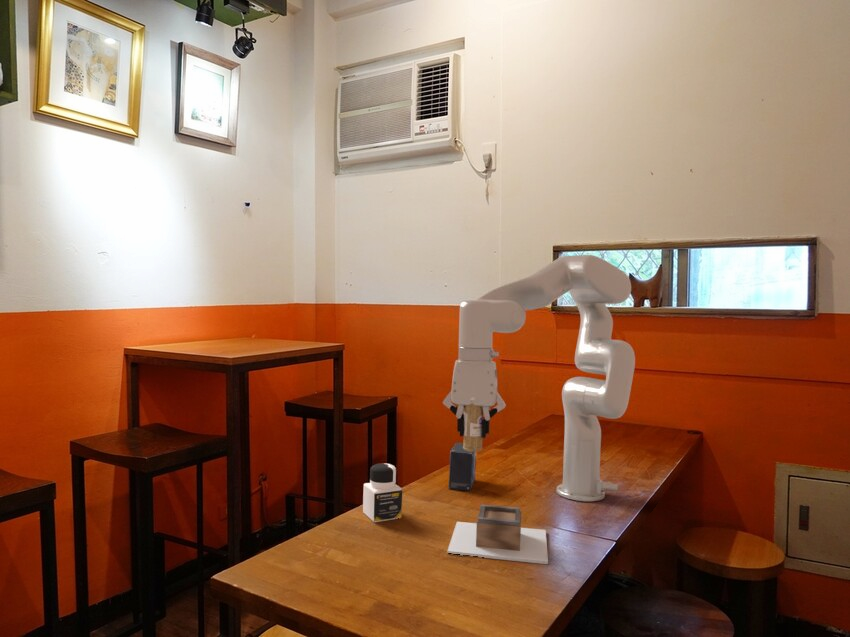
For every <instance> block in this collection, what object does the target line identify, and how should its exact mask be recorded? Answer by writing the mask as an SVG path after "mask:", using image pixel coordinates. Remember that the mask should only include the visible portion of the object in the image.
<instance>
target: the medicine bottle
mask: <svg viewBox="0 0 850 637" xmlns="http://www.w3.org/2000/svg"><path fill="white" fill-rule="evenodd" d="M369 471H370V472H369V482H365V483H363V491H362V492H363V495H362V512H363V513H364V515H366V517H368V518H369V519H370V520H371V521H372V523H379V522H385V521H391V520H397V519H398V518H399V519H401V518H402V515H403V512H402V510H403V488H402V487H400V486H399V485H397V484H396V482H397V480H396V477H397V476H396V475H397V468H396V467H395V465H393V464H391V463H381V462H380V463H376V464H374V465H372V466H371V467H370V470H369Z"/></svg>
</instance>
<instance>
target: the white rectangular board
mask: <svg viewBox="0 0 850 637" xmlns="http://www.w3.org/2000/svg"><path fill="white" fill-rule="evenodd" d="M476 529H477V522H466V521H465V522H464V521H456V524H455V526H454V530H453V533H452V536H451V538H450V542H449V544H448V547H447V548H448V549H447V551H446V554H447V553H453V554H460V555H459V556H463V555H470V556H469V557H473V556H478V557H477V558H482V557H484V559H493V560H502V561H514V562H521V563H522V562H523V563H530V564H531V563H532V564H541V565H548V564H549V558H548V557H549V556H548V546H547V544H548V542H547V531H546V530H547V529H542V528H541V529H540V528H528V527H521V536H520V551H515V550H505V549H495V548H485V547H476ZM453 554H452V555H453Z"/></svg>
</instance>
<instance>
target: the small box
mask: <svg viewBox="0 0 850 637" xmlns="http://www.w3.org/2000/svg"><path fill="white" fill-rule="evenodd" d="M476 465H477V451H467V450H464V449H463V443H462V442H455V444H454V445H453V447H452V448H451V450H450V451H449V475H448V476H449V477H448V488H447V489H448V490H459V491H465V492H466V491H471V490H472V488H473V485H474V483H475V481H476V471H477V470H476V467H477V466H476Z"/></svg>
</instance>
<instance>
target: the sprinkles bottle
mask: <svg viewBox="0 0 850 637" xmlns="http://www.w3.org/2000/svg"><path fill="white" fill-rule="evenodd" d="M470 400H475V399H474V398H473V397H472V398H471V399H470ZM470 402H473V401H470ZM463 414H464V430H463V449H464V450H467V451H476V452H479V451H480V452H481V451H482V450H483V437H482V421H483V419H484V412H483V407H479V406H476V405H474V404H472V403H471V404H470V405H467V406H464V412H463Z"/></svg>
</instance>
